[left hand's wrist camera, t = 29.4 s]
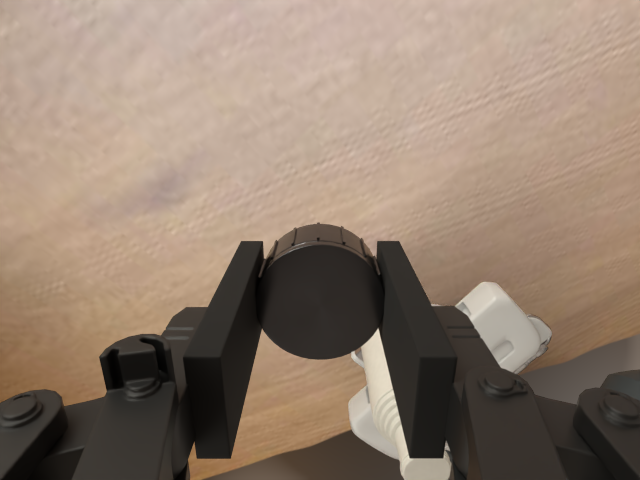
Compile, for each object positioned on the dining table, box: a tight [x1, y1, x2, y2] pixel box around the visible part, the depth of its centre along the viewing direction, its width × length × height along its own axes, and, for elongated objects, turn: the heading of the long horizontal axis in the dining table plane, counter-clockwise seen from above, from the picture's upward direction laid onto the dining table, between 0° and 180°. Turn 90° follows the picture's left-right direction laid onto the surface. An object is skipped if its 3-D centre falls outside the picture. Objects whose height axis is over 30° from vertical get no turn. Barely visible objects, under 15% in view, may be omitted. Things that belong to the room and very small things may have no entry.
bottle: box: [361, 329, 451, 480], centre depth 35 cm, size 5×5×22 cm
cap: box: [255, 223, 385, 360], centre depth 14 cm, size 4×4×2 cm
